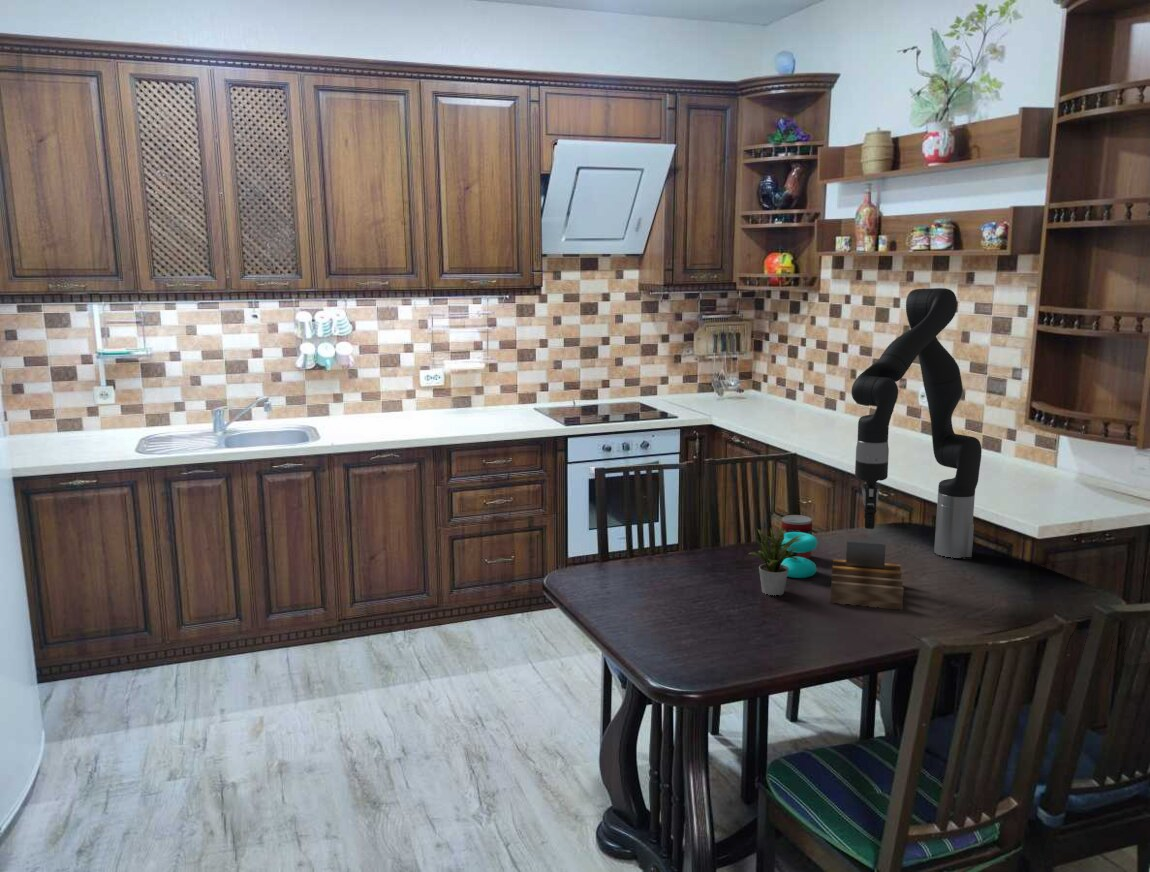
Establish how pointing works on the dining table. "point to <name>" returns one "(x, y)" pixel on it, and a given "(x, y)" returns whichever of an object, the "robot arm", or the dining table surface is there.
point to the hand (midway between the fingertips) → (869, 523)
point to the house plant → (774, 563)
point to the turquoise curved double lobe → (802, 565)
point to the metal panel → (865, 554)
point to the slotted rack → (867, 586)
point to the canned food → (797, 529)
